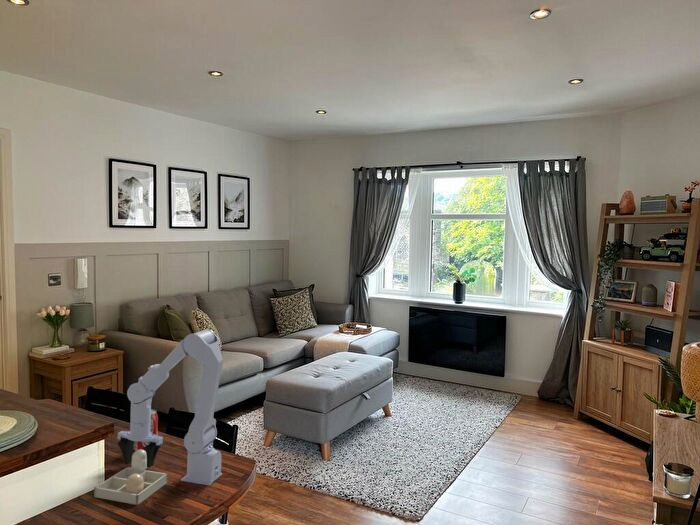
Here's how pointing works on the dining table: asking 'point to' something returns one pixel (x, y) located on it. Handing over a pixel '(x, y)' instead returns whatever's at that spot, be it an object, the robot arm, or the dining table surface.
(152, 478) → the carton
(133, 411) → the robot arm
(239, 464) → the dining table surface
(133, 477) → the brown egg
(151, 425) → the soda can
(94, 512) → the dining table surface
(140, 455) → the white egg
